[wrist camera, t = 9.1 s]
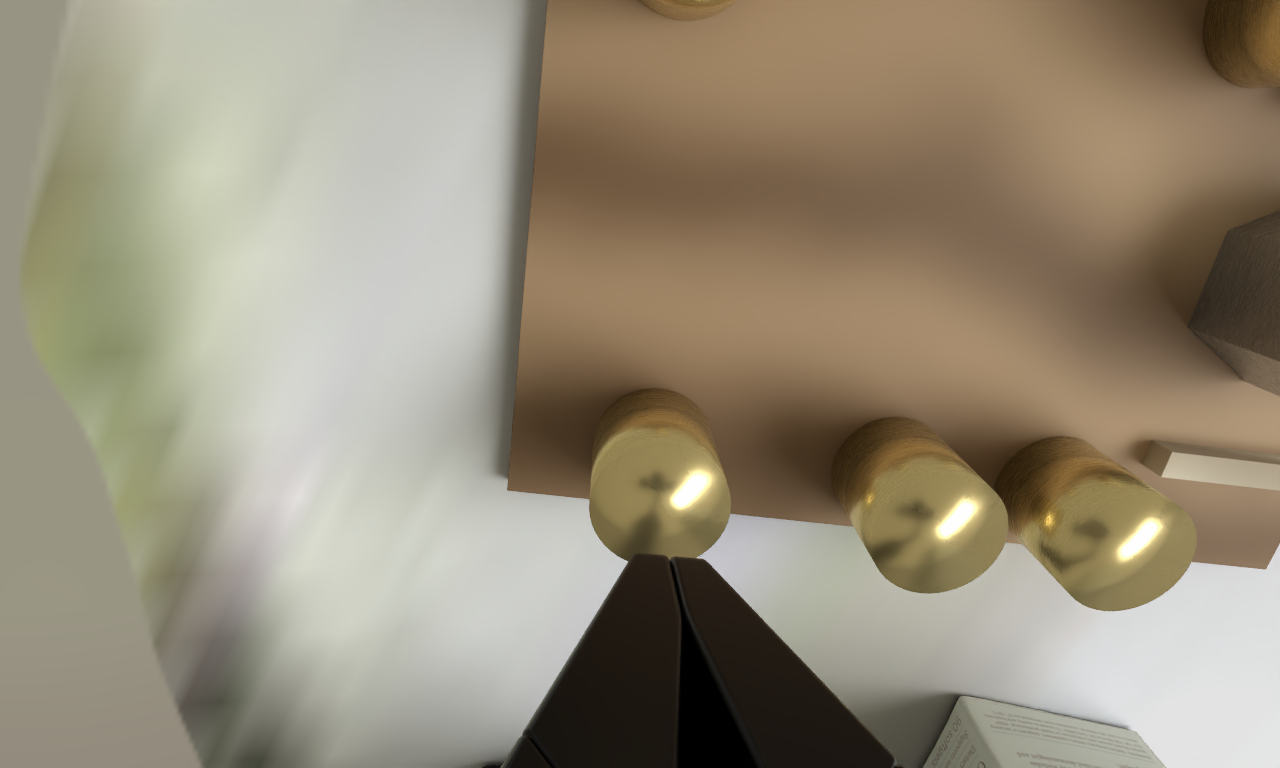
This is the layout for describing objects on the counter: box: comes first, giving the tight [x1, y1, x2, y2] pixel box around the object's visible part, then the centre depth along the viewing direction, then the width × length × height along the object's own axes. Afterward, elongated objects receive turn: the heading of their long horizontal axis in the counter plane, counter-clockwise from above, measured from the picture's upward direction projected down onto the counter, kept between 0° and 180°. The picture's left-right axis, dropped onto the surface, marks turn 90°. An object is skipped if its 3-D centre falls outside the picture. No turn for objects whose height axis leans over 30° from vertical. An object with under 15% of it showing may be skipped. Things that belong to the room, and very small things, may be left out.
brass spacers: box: [589, 0, 1280, 611], centre depth 17 cm, size 16×17×4 cm
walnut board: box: [507, 0, 1280, 569], centre depth 19 cm, size 17×24×1 cm
